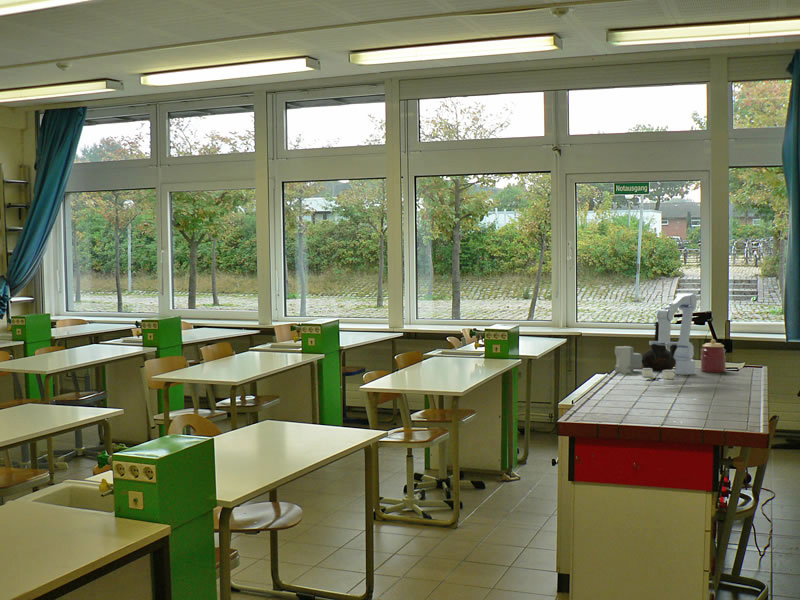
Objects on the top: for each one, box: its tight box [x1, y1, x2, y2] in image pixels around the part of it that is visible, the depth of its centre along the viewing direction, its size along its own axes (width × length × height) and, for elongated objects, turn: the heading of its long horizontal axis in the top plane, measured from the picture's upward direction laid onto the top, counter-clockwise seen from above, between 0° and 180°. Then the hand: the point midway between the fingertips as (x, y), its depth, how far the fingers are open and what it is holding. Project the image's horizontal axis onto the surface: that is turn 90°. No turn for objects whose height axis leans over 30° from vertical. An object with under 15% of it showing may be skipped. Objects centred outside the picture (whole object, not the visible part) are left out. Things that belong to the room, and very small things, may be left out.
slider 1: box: [641, 367, 654, 378], centre depth 422 cm, size 4×4×4 cm
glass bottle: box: [642, 321, 676, 372], centre depth 449 cm, size 18×18×28 cm
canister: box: [700, 338, 727, 373], centre depth 449 cm, size 13×13×18 cm
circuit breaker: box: [614, 345, 644, 374], centre depth 441 cm, size 8×14×15 cm, turn 89°
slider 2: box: [661, 369, 674, 380], centre depth 414 cm, size 4×4×4 cm
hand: (663, 359), depth 414 cm, fingers open, 7 cm apart
